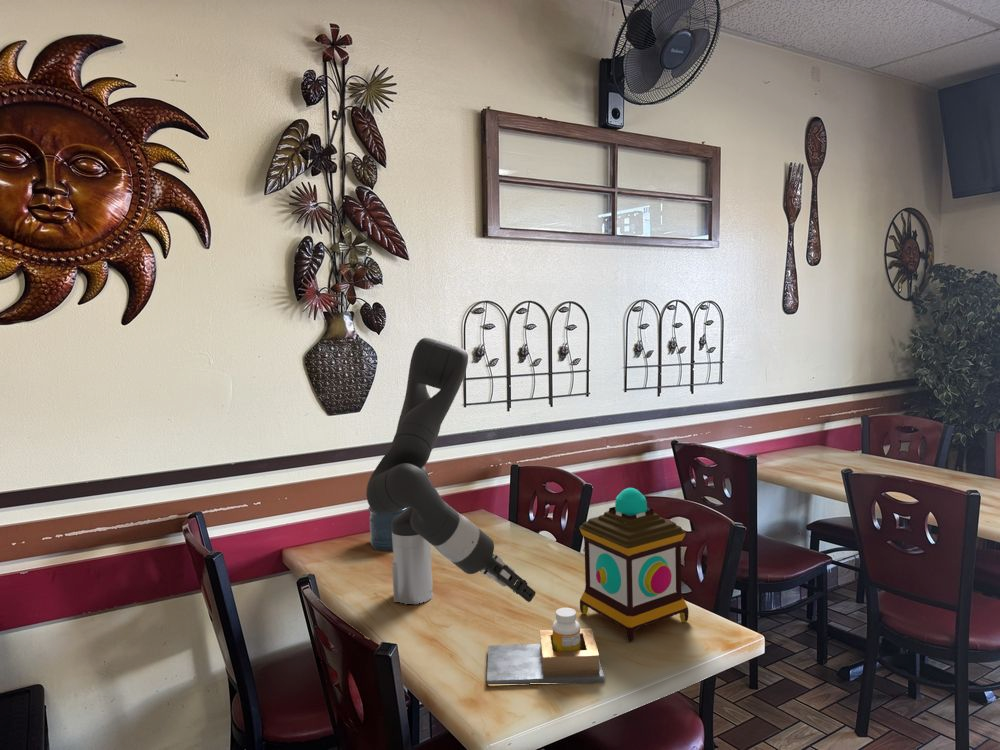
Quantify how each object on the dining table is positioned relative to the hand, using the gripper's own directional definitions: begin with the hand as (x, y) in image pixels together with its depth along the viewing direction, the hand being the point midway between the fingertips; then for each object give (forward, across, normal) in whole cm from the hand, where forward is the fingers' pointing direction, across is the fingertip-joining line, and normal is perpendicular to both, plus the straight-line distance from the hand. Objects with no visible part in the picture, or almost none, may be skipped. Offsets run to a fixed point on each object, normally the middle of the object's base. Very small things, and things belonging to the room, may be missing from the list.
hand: (519, 589), depth 124 cm
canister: (+18, +87, +8) cm, 89 cm away
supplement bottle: (+19, 0, +5) cm, 20 cm away
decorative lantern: (+37, +8, -11) cm, 40 cm away
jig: (+17, +2, +8) cm, 19 cm away
